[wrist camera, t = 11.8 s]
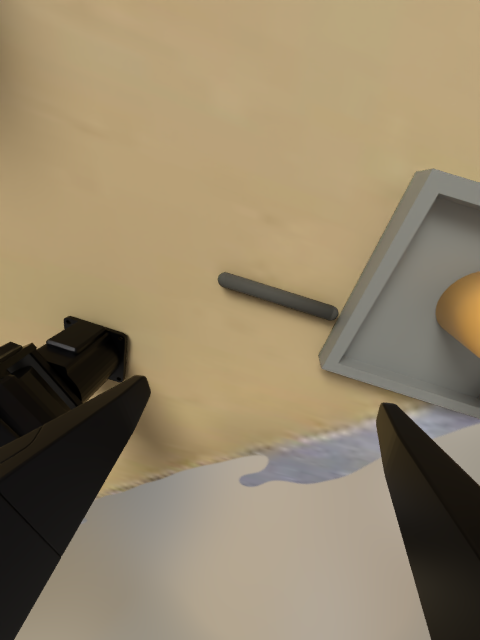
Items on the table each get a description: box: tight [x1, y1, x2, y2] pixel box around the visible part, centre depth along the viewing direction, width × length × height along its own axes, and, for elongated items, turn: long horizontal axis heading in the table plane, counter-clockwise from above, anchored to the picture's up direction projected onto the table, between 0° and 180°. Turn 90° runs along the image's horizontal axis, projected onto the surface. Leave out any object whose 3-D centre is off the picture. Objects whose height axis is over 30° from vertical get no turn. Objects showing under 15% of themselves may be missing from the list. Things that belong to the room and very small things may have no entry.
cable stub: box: [218, 272, 338, 320], centre depth 20 cm, size 1×10×1 cm, turn 75°
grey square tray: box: [319, 169, 480, 419], centre depth 18 cm, size 15×15×2 cm
